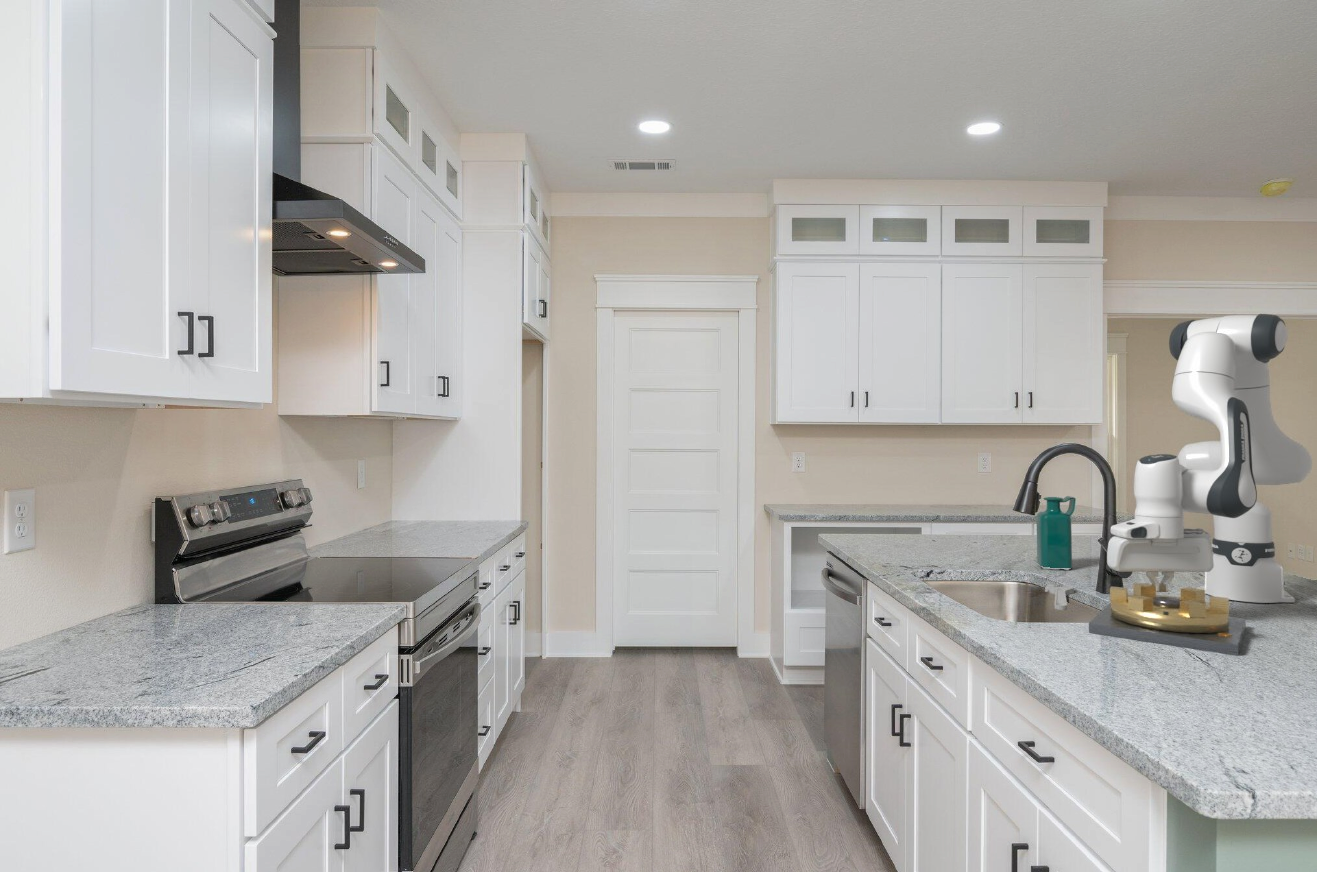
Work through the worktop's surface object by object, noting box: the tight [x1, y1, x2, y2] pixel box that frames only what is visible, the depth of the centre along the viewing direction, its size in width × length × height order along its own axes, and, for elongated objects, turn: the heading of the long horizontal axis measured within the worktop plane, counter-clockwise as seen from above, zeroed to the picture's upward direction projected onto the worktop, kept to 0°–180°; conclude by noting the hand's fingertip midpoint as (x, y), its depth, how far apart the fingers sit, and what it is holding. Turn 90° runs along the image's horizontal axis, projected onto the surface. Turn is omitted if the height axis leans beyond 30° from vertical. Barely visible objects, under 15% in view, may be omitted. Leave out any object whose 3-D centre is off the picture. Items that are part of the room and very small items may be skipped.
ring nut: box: [1109, 582, 1230, 633], centre depth 147 cm, size 20×20×6 cm
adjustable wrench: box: [1044, 583, 1075, 611], centre depth 177 cm, size 25×6×2 cm, turn 146°
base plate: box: [1088, 602, 1247, 656], centre depth 147 cm, size 24×24×2 cm
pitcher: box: [1036, 495, 1077, 569], centre depth 216 cm, size 10×8×22 cm
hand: (1160, 591), depth 154 cm, fingers closed
